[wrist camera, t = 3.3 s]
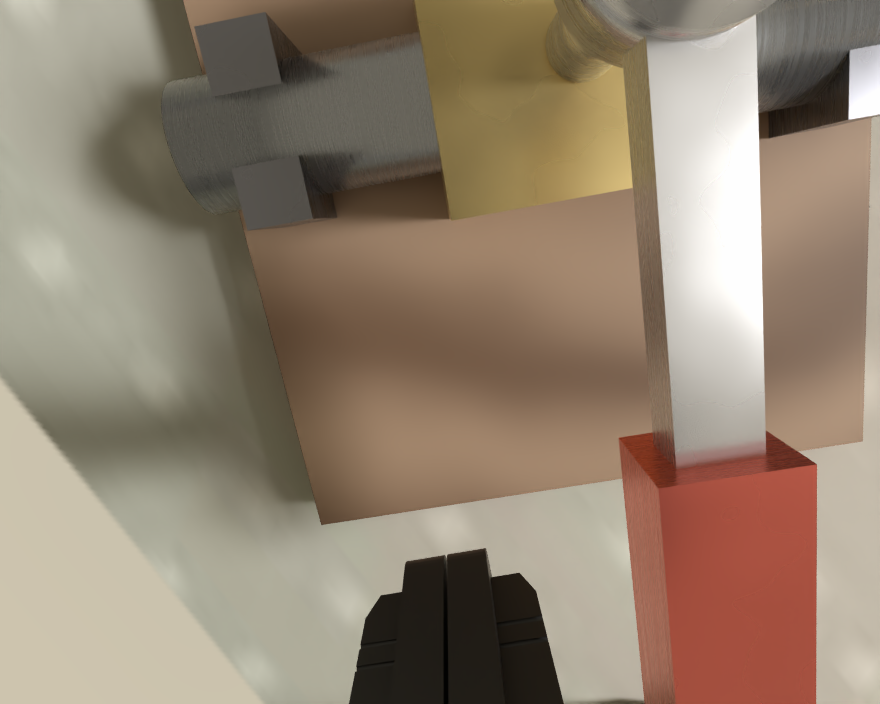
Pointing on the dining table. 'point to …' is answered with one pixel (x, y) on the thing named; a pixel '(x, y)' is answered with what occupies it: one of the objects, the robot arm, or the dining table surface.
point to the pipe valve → (467, 106)
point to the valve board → (528, 314)
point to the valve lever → (706, 368)
